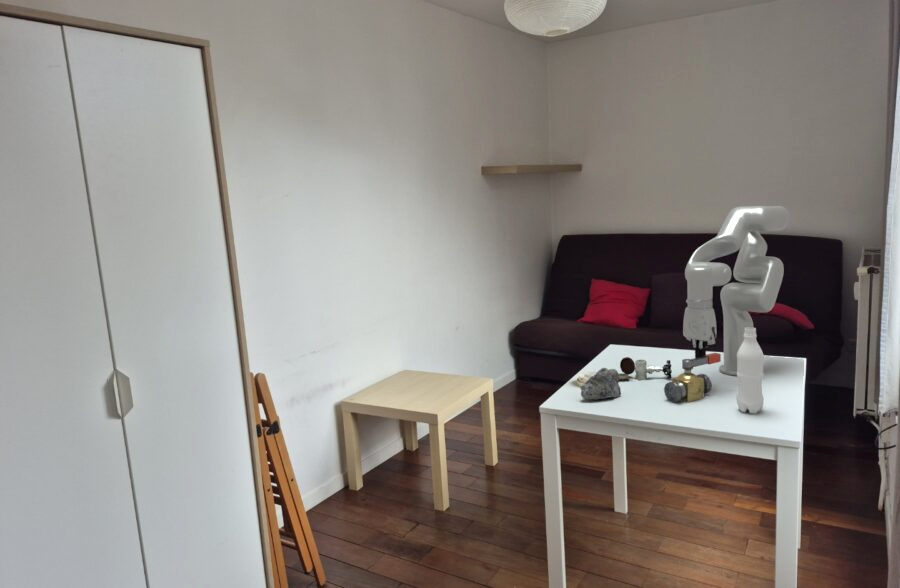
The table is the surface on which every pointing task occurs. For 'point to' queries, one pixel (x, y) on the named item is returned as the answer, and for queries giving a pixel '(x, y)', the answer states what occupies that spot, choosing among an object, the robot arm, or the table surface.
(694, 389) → the pipe valve
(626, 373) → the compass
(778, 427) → the table surface
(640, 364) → the valve
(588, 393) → the mineral rock
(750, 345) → the water bottle
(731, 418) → the table surface
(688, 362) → the valve lever
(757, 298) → the robot arm
